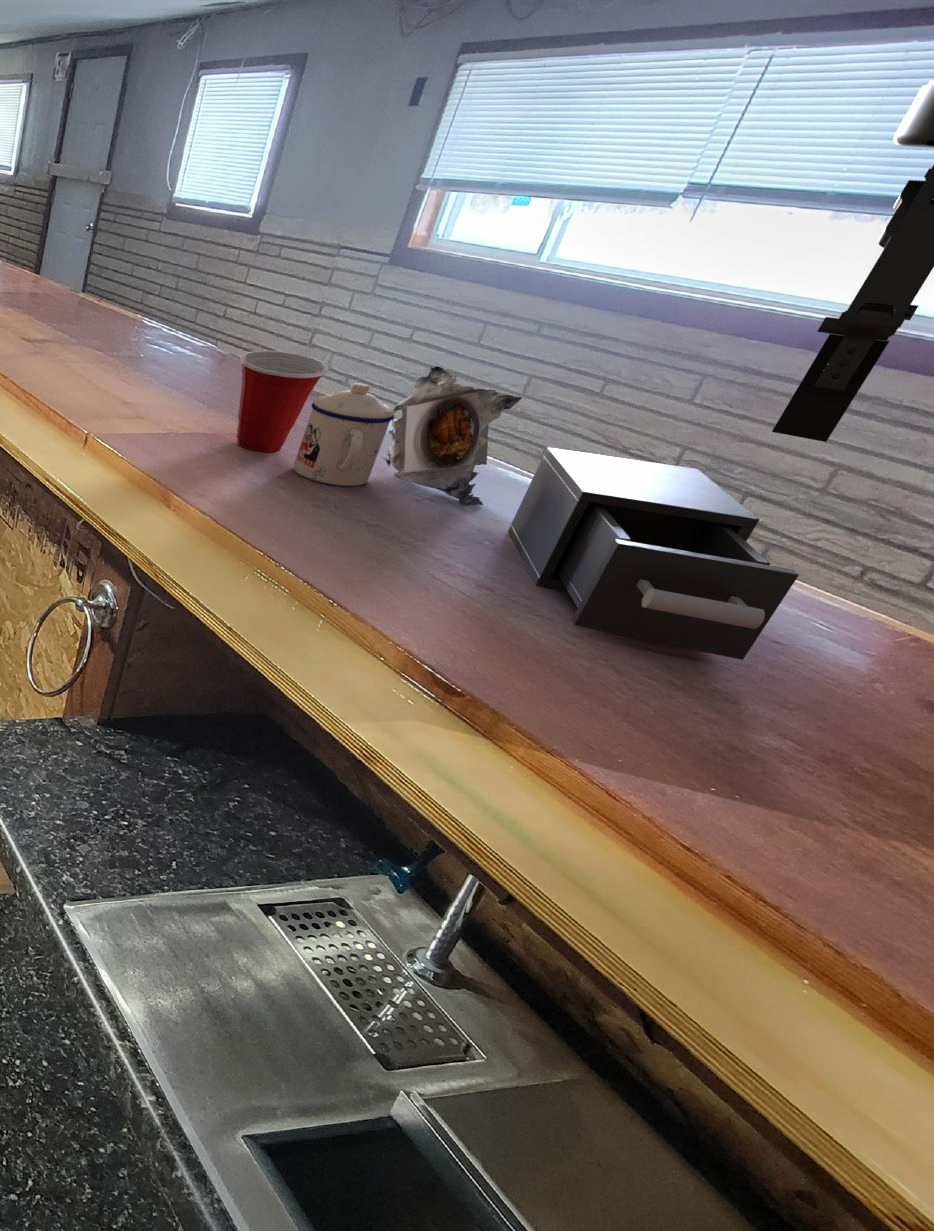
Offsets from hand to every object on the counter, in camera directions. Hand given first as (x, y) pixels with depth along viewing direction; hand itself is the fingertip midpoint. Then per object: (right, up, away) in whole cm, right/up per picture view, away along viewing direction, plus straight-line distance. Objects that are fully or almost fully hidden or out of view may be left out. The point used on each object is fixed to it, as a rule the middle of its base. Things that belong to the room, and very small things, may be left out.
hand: (807, 420), depth 65 cm
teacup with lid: (-5, +4, +50) cm, 50 cm away
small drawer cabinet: (+9, -9, +27) cm, 30 cm away
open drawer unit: (+3, -14, +16) cm, 21 cm away
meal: (+7, +4, +49) cm, 50 cm away
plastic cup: (-9, +11, +61) cm, 62 cm away
